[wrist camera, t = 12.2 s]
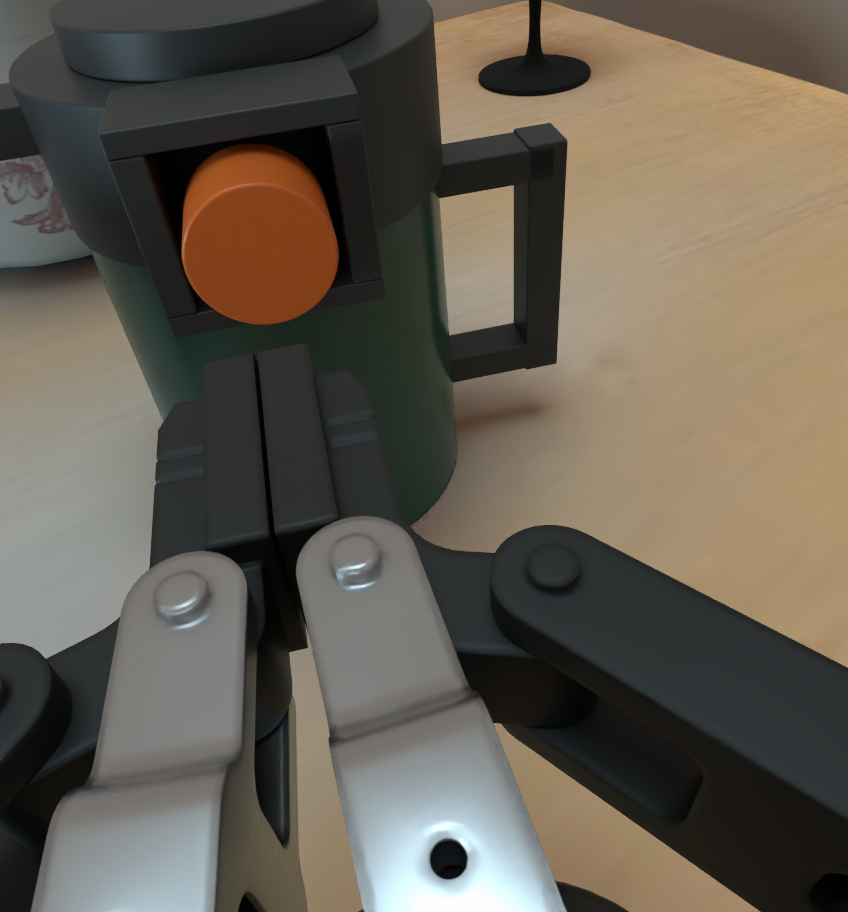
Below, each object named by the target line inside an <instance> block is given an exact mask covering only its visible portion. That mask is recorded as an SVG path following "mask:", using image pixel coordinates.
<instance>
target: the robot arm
mask: <svg viewBox="0 0 848 912" xmlns="http://www.w3.org/2000/svg"><path fill="white" fill-rule="evenodd" d="M157 460H158V462H157V463H156V476H155V480H156V485H155V491H154V507H153V523H152V539H151V555H150V568H149V570H148V571H147V572H146V573H145V574H143V575H142V576H141V577H140V578H139V579H138V581H137V582H136V583H135V584H134V585H133V587H132V588H131V590H130V591H129V592H128V594H127V596H126V599H125V601H124V604H123V607H122V611H121V616H120V618H118V619H117V620H116V621H115V622H113V623H112V624H111V625H109V626H108V627H106V628H105V629H103V630H101V631H100V632H98V633H96V634H94V635H93V636H91V637H89V638H87V639H85V640H83V641H81V642H79V643H77V644H75V645H73V646H71V647H69V648H67V649H65V650H63V651H61V652H59V653H57V654H55V655H53V656H51V657H49V658H47V659H45V658H44V657H43V656H42V654H41V653H40V652H38V651H37V650H35V649H34V648H32V647H29V646H27V645H24V644H17V643H2V644H0V912H308V909H307V900H306V893H305V887H304V882H303V878H302V873H301V868H300V860H299V848H298V801H297V747H296V707H295V701H294V698H293V695H292V677H291V667H290V657H289V652H292V651H296V650H301V649H305V648H308V644H307V636H306V628H305V624H306V627H307V630H308V633H309V637H310V642H311V646H312V651H313V656H314V660H315V665H316V669H317V674H318V679H319V683H320V688H321V692H322V697H323V702H324V706H325V711H326V715H327V720H328V725H329V731H330V737H329V745H330V752H331V758H332V763H333V768H334V773H335V777H336V782H337V787H338V792H339V796H340V801H341V806H342V810H343V815H344V820H345V824H346V829H347V834H348V838H349V843H350V848H351V852H352V857H353V862H354V867H355V871H356V876H357V881H358V885H359V890H360V895H361V899H362V904H363V909H362V910H360V911H359V912H629V911H627V910H625V909H624V908H622V907H621V906H619V905H618V904H616V903H614V902H612V901H610V900H608V899H606V898H604V897H601V896H599V895H597V894H595V893H593V892H591V891H588V890H585V889H582V888H579V887H576V886H573V885H570V884H567V883H563V882H557V881H555V880H554V878H553V875H552V872H551V870H550V867H549V865H548V862H547V860H546V857H545V855H544V852H543V849H542V847H541V844H540V842H539V839H538V837H537V834H536V832H535V829H534V826H533V824H532V821H531V819H530V816H529V814H528V811H527V809H526V806H525V803H524V801H523V798H522V796H521V793H520V791H519V788H518V786H517V783H516V780H515V778H514V775H513V773H512V770H511V768H510V765H509V763H508V760H507V757H506V755H505V752H504V750H503V747H502V745H501V742H500V740H499V737H498V734H497V732H496V729H495V727H494V724H493V723H501V724H502V725H503V727H504V728H505V729H506V730H507V731H508V732H509V733H510V734H511V735H512V736H514V737H515V738H516V739H517V740H519V741H520V742H522V743H523V744H525V745H526V746H527V747H529V748H530V749H532V750H533V751H534V752H536V753H537V754H539V755H540V756H542V757H543V758H544V759H546V760H547V761H549V762H550V763H551V764H553V765H554V766H556V767H557V768H558V769H560V770H561V771H563V772H564V773H566V774H567V775H568V776H570V777H571V778H573V779H574V780H575V781H577V782H578V783H580V784H581V785H583V786H584V787H585V788H587V789H588V790H590V791H591V792H592V793H594V794H595V795H597V796H598V797H599V798H601V799H602V800H604V801H605V802H607V803H608V804H609V805H611V806H612V807H614V808H615V809H616V810H618V811H619V812H621V813H622V814H623V815H625V816H626V817H628V818H629V819H631V820H632V821H633V822H635V823H636V824H638V825H639V826H640V827H642V828H643V829H645V830H646V831H648V832H649V833H650V834H652V835H653V836H655V837H656V838H657V839H659V840H660V841H662V842H663V843H664V844H666V845H667V846H669V847H670V848H672V849H673V850H674V851H676V852H677V853H679V854H680V855H681V856H683V857H684V858H686V859H687V860H689V861H690V862H691V863H693V864H694V865H696V866H697V867H698V868H700V869H701V870H703V871H704V872H705V873H707V874H708V875H710V876H711V877H713V878H714V879H715V880H717V881H718V882H720V883H721V884H722V885H724V886H725V887H727V888H728V889H729V890H731V891H732V892H734V893H735V894H737V895H738V896H739V897H741V898H742V899H744V900H745V901H746V902H748V903H749V904H751V905H752V906H754V907H755V908H756V909H758V910H759V911H761V912H848V668H847V667H845V666H843V665H841V664H839V663H837V662H835V661H833V660H831V659H829V658H827V657H825V656H824V655H822V654H820V653H818V652H816V651H814V650H812V649H810V648H808V647H806V646H804V645H802V644H800V643H798V642H796V641H794V640H792V639H790V638H788V637H786V636H785V635H783V634H781V633H779V632H777V631H775V630H773V629H771V628H769V627H767V626H765V625H763V624H761V623H759V622H757V621H755V620H753V619H751V618H749V617H748V616H746V615H744V614H742V613H740V612H738V611H736V610H734V609H732V608H730V607H728V606H726V605H724V604H722V603H720V602H718V601H716V600H714V599H712V598H710V597H709V596H707V595H705V594H703V593H701V592H699V591H697V590H695V589H693V588H691V587H689V586H687V585H685V584H683V583H681V582H679V581H677V580H675V579H673V578H671V577H670V576H668V575H666V574H664V573H662V572H660V571H658V570H656V569H654V568H652V567H650V566H648V565H646V564H644V563H642V562H640V561H638V560H636V559H634V558H632V557H631V556H629V555H627V554H625V553H623V552H621V551H619V550H617V549H615V548H613V547H611V546H609V545H607V544H605V543H603V542H601V541H599V540H597V539H595V538H594V537H592V536H590V535H588V534H586V533H583V532H581V531H579V530H576V529H573V528H569V527H565V526H558V525H542V526H534V527H531V528H527V529H524V530H522V531H519V532H517V533H515V534H513V535H512V536H510V537H509V538H507V539H506V540H505V541H504V542H503V543H502V544H501V545H500V546H499V548H498V549H497V550H496V552H495V553H483V552H465V551H456V550H450V549H446V548H442V547H439V546H437V545H434V544H432V543H430V542H428V541H426V540H424V539H423V538H422V537H420V536H419V535H418V534H416V533H415V532H414V531H413V530H412V528H411V527H410V526H409V525H408V523H407V522H406V520H405V518H404V515H403V513H402V510H401V506H400V502H399V499H398V495H397V491H396V487H395V484H394V480H393V476H392V473H391V469H390V465H389V461H388V458H387V454H386V450H385V447H384V443H383V439H382V436H381V432H380V428H379V424H378V421H377V418H376V413H375V409H374V406H373V402H372V398H371V395H370V391H369V388H368V387H367V386H366V385H365V384H364V383H363V382H362V381H361V380H359V379H358V378H357V377H356V376H355V375H354V374H353V373H352V372H351V371H350V370H344V371H339V372H334V373H329V374H324V375H319V376H314V371H313V367H312V362H311V358H310V354H309V349H308V345H307V343H303V344H298V345H293V346H288V347H282V348H277V349H272V350H267V351H261V352H258V360H257V358H256V355H255V354H254V353H252V354H247V355H241V356H236V357H231V358H226V359H220V360H215V361H210V362H205V363H204V364H203V398H202V399H197V400H192V401H187V402H182V403H177V404H174V406H173V407H172V409H171V411H170V412H169V414H168V415H167V417H166V419H165V420H164V422H163V424H162V425H161V427H160V428H159V430H158V444H157Z"/></svg>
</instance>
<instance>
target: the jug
mask: <svg viewBox="0 0 848 912" xmlns="http://www.w3.org/2000/svg"><path fill="white" fill-rule="evenodd" d="M49 18H50V22H51V24H52V27H53V29H54V32H55V33H53V34H52V35H50V36H48V37H46V38H44V39H42V40H40V41H39V42H37V43H35V44H34V45H32V46H31V47H29V48H28V49H26V50H25V51H24V52H23V53H22V54H20V55H19V56H18V57H17V58H16V59H15V61H14V62H13V63H12V65H11V67H10V69H9V72H8V73H9V83H5V84H0V161H4V160H11V159H17V158H23V157H29V156H35V155H41V156H42V158H43V160H44V163H45V165H46V167H47V170H48V172H49V174H50V176H51V179H52V181H53V183H54V186H55V188H56V190H57V192H58V195H59V197H60V199H61V202H62V204H63V206H64V209H65V211H66V213H67V215H68V218H69V220H70V222H71V225H72V227H73V229H74V231H75V232H76V234H77V236H78V238H79V239H80V240H81V241H82V242H83V243H84V244H85V245H86V246H88V247H89V249H90V252H91V254H92V256H93V259H94V261H95V263H96V266H97V268H98V270H99V273H100V275H101V277H102V280H103V282H104V284H105V287H106V289H107V291H108V294H109V296H110V298H111V301H112V303H113V305H114V308H115V310H116V312H117V315H118V317H119V319H120V322H121V324H122V326H123V329H124V331H125V333H126V335H127V338H128V340H129V342H130V345H131V347H132V349H133V352H134V354H135V356H136V359H137V361H138V363H139V366H140V368H141V370H142V373H143V375H144V377H145V380H146V382H147V384H148V387H149V389H150V391H151V394H152V396H153V398H154V401H155V403H156V405H157V408H158V410H159V412H160V415H161V417H162V419H163V422H164V420H165V419H166V417H167V415H168V414H169V412H170V411H171V409H172V407H173V406H174V404H177V403H182V402H187V401H192V400H197V399H202V398H203V364H204V363H205V362H210V361H215V360H220V359H226V358H231V357H236V356H241V355H247V354H252V353H254V354H255V355H256V358H257V360H258V352H261V351H267V350H272V349H277V348H282V347H288V346H293V345H298V344H303V343H307V345H308V349H309V354H310V358H311V362H312V367H313V371H314V376H319V375H324V374H329V373H334V372H339V371H344V370H350V371H351V372H352V373H353V374H354V375H355V376H356V377H357V378H358V379H359V380H361V381H362V382H363V383H364V384H365V385H366V386H367V387H368V388H369V391H370V395H371V398H372V402H373V406H374V409H375V413H376V418H377V421H378V424H379V428H380V432H381V436H382V439H383V443H384V447H385V450H386V454H387V458H388V461H389V465H390V469H391V473H392V476H393V480H394V484H395V487H396V491H397V495H398V499H399V502H400V506H401V510H402V513H403V515H404V518H405V520H406V522H407V523H408V525H410V524H412V523H413V522H414V521H416V520H417V519H418V518H419V517H420V516H422V515H423V514H424V513H425V512H426V511H427V510H428V509H429V508H430V507H431V506H432V505H433V504H434V503H435V502H436V500H437V499H438V498H439V496H440V495H441V493H442V492H443V491H444V489H445V488H446V486H447V484H448V482H449V480H450V478H451V476H452V473H453V470H454V466H455V463H456V455H457V442H456V428H455V414H454V399H453V385H452V383H453V382H458V381H463V380H468V379H473V378H478V377H483V376H488V375H492V374H497V373H502V372H507V371H512V370H517V369H522V368H526V369H531V368H536V367H541V366H546V365H551V364H555V363H556V360H557V340H558V320H559V300H560V280H561V260H562V240H563V220H564V200H565V180H566V160H567V139H566V138H565V137H564V136H563V135H562V134H561V133H560V132H559V131H558V130H557V129H556V128H555V127H554V126H553V125H552V124H551V123H547V124H541V125H535V126H529V127H523V128H517V129H514V132H513V133H507V134H501V135H495V136H489V137H483V138H477V139H471V140H466V141H460V142H454V143H448V144H441V128H440V113H439V98H438V83H437V67H436V52H435V37H434V22H433V11H432V8H431V6H430V5H429V3H428V2H427V1H426V0H59V1H58V2H57V3H55V4H54V5H53V7H52V8H51V9H50V12H49ZM246 143H258V144H265V145H270V146H273V147H277V148H279V149H282V150H284V151H286V152H288V153H290V154H291V155H293V156H295V157H296V158H298V159H299V160H300V161H301V162H303V163H304V164H305V165H306V166H307V167H308V168H309V169H310V171H311V172H312V173H313V175H314V176H315V177H316V179H317V181H318V182H319V184H320V186H321V189H322V191H323V194H324V197H325V200H326V204H327V207H328V211H329V214H330V218H331V221H332V225H333V228H334V232H335V235H336V239H337V243H338V252H339V258H338V267H337V272H336V275H335V278H334V281H333V283H332V285H331V287H330V288H329V290H328V291H327V293H326V294H325V296H324V297H323V298H322V299H321V300H320V302H319V303H317V304H316V305H315V306H314V307H313V308H312V309H310V310H309V311H307V312H306V313H304V314H302V315H300V316H299V317H297V318H294V319H291V320H289V321H285V322H281V323H276V324H261V325H260V324H250V323H245V322H240V321H237V320H234V319H231V318H229V317H227V316H225V315H223V314H221V313H219V312H218V311H216V310H214V309H213V308H212V307H210V306H209V305H208V304H207V303H206V302H205V301H204V300H203V299H202V298H201V297H200V296H199V295H198V294H197V293H196V291H195V290H194V289H193V287H192V285H191V284H190V282H189V280H188V278H187V275H186V273H185V270H184V266H183V261H182V230H183V206H184V196H185V191H186V188H187V185H188V182H189V180H190V179H191V177H192V175H193V173H194V172H195V170H196V169H197V168H198V167H199V165H200V164H201V163H202V162H203V161H204V160H206V159H207V158H208V157H210V156H211V155H212V154H214V153H216V152H218V151H219V150H222V149H224V148H227V147H229V146H233V145H238V144H246ZM511 185H514V323H511V324H506V325H501V326H496V327H491V328H486V329H481V330H476V331H471V332H465V333H460V334H455V335H450V336H449V329H448V315H447V301H446V287H445V273H444V259H443V245H442V231H441V217H440V202H439V198H443V197H449V196H454V195H460V194H466V193H471V192H477V191H483V190H488V189H494V188H500V187H505V186H511Z"/></svg>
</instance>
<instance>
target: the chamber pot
mask: <svg viewBox="0 0 848 912" xmlns="http://www.w3.org/2000/svg"><path fill="white" fill-rule="evenodd" d="M58 1H59V0H0V84H5V83H9V73H8V72H9V69H10V67H11V65H12V63H13V62H14V61H15V59H16V58H17V57H18V56H19V55H20V54H22V53H23V52H24V51H25V50H26V49H28V48H29V47H31V46H32V45H34V44H35V43H37V42H39V41H40V40H42V39H44V38H46V37H48V36H50V35H52V34H53V33H55V32H54V29H53V27H52V24H51V22H50V18H49V12H50V9H51V8H52V7H53V5H54V4H55V3H57V2H58ZM89 255H92V254H91V252H90V249H89V247H88V246H86V245H85V244H84V243H83V242H82V241H81V240H80V239H79V238H78V236H77V234H76V232H75V231H74V229H73V227H72V225H71V222H70V220H69V218H68V215H67V213H66V211H65V209H64V206H63V204H62V202H61V199H60V197H59V195H58V192H57V190H56V188H55V186H54V183H53V181H52V179H51V176H50V174H49V172H48V170H47V167H46V165H45V163H44V160H43V158H42V156H41V155H35V156H29V157H23V158H17V159H11V160H4V161H0V268H7V267H27V266H41V265H46V264H52V263H57V262H62V261H67V260H72V259H78V258H83V257H86V256H89Z"/></svg>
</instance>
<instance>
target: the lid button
mask: <svg viewBox="0 0 848 912" xmlns="http://www.w3.org/2000/svg"><path fill="white" fill-rule="evenodd" d="M338 258H339V252H338V243H337V239H336V235H335V232H334V228H333V225H332V221H331V218H330V214H329V211H328V207H327V204H326V200H325V197H324V194H323V191H322V189H321V186H320V184H319V182H318V181H317V179H316V177H315V176H314V175H313V173H312V172H311V171H310V169H309V168H308V167H307V166H306V165H305V164H304V163H303V162H301V161H300V160H299V159H298V158H296V157H295V156H293V155H291V154H290V153H288V152H286V151H284V150H282V149H279V148H277V147H273V146H270V145H265V144H258V143H246V144H238V145H233V146H229V147H227V148H224V149H222V150H219V151H218V152H216V153H214V154H212V155H211V156H210V157H208V158H207V159H206V160H204V161H203V162H202V163H201V164H200V165H199V167H198V168H197V169H196V170H195V172H194V173H193V175H192V177H191V179H190V180H189V182H188V185H187V188H186V191H185V196H184V206H183V230H182V261H183V266H184V270H185V273H186V275H187V278H188V280H189V282H190V284H191V285H192V287H193V289H194V290H195V291H196V293H197V294H198V295H199V296H200V297H201V298H202V299H203V300H204V301H205V302H206V303H207V304H208V305H209V306H210V307H212V308H213V309H214V310H216V311H218V312H219V313H221V314H223V315H225V316H227V317H229V318H231V319H234V320H237V321H240V322H245V323H250V324H260V325H261V324H276V323H281V322H285V321H289V320H291V319H294V318H297V317H299V316H300V315H302V314H304V313H306V312H307V311H309V310H310V309H312V308H313V307H314V306H315V305H316V304H317V303H319V302H320V300H321V299H322V298H323V297H324V296H325V294H326V293H327V291H328V290H329V288H330V287H331V285H332V283H333V281H334V278H335V275H336V272H337V267H338Z"/></svg>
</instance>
